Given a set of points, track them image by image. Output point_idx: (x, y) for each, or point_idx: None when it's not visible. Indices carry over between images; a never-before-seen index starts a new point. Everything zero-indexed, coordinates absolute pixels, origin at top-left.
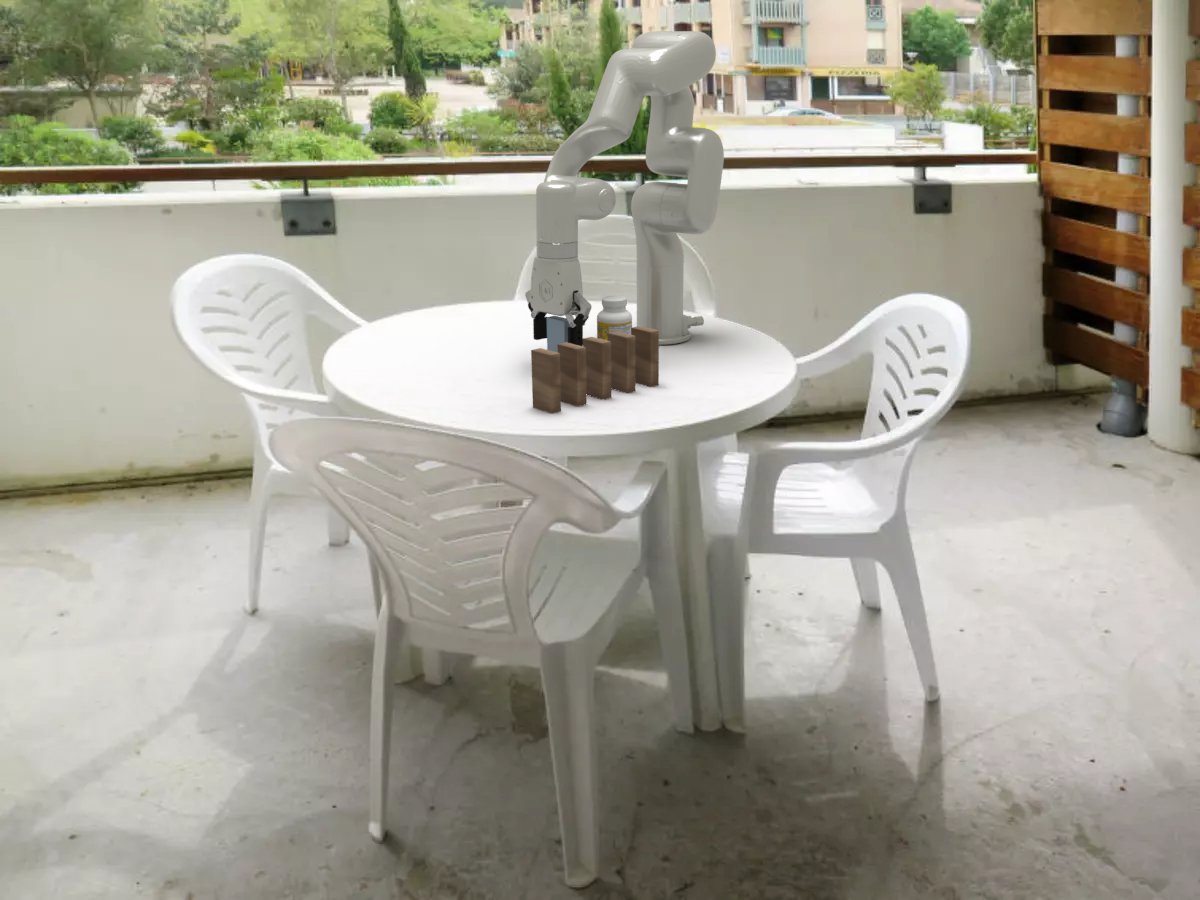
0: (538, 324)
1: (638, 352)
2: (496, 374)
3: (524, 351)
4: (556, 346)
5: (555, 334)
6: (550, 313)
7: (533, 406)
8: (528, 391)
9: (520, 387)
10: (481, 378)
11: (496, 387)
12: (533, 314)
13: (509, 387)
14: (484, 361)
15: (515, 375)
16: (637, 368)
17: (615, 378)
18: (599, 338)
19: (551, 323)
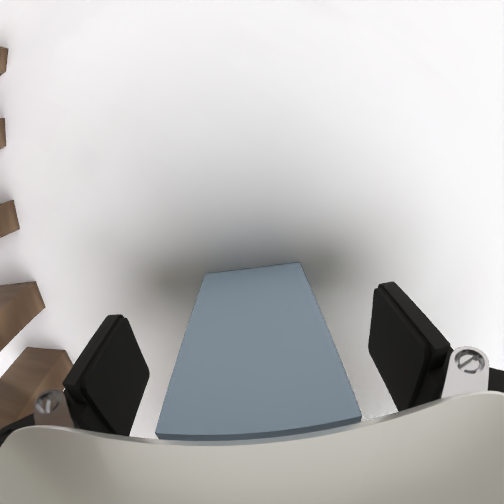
0: (407, 346)
1: (12, 395)
2: (356, 83)
3: (475, 306)
4: (249, 319)
5: (255, 357)
6: (164, 441)
7: (5, 49)
8: (99, 69)
9: (151, 62)
10: (338, 22)
11: (204, 3)
12: (469, 367)
13: (175, 33)
14: (485, 165)
15: (304, 122)
16: (35, 370)
17: (2, 295)
18: None
19: (298, 398)
